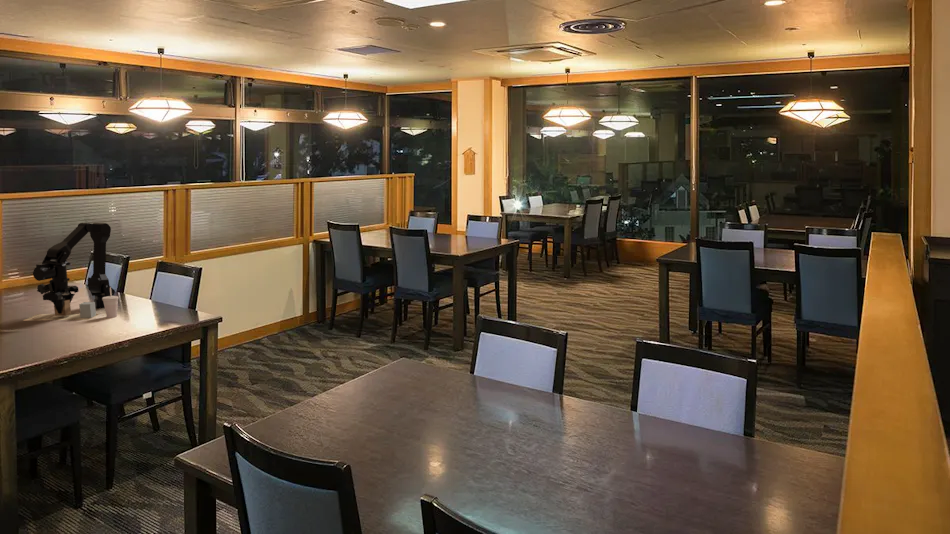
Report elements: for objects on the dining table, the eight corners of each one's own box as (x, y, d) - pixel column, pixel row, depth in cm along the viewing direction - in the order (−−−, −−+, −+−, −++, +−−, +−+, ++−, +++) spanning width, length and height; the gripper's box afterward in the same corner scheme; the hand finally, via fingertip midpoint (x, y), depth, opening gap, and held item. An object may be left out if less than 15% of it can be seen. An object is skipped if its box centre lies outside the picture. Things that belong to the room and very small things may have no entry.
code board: (100, 315, 317) (100, 313, 317) (87, 322, 306) (87, 319, 305) (37, 316, 316) (37, 314, 316) (22, 322, 304) (22, 320, 304)
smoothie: (123, 317, 314) (120, 286, 312) (114, 321, 308) (112, 289, 306) (109, 317, 315) (106, 285, 312) (100, 320, 308) (97, 288, 306)
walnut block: (71, 313, 313) (69, 299, 312) (65, 315, 308) (64, 302, 307) (60, 313, 312) (59, 299, 312) (55, 315, 308) (53, 302, 307)
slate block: (96, 315, 314) (94, 302, 313) (91, 317, 309) (90, 304, 308) (85, 315, 313) (84, 302, 312) (80, 317, 309) (79, 304, 308)
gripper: (51, 273, 316) (54, 307, 319) (28, 280, 298) (31, 317, 301) (77, 273, 317) (80, 307, 320) (55, 280, 299) (59, 317, 301)
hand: (62, 312), depth 310 cm, fingers closed on walnut block, 4 cm apart
